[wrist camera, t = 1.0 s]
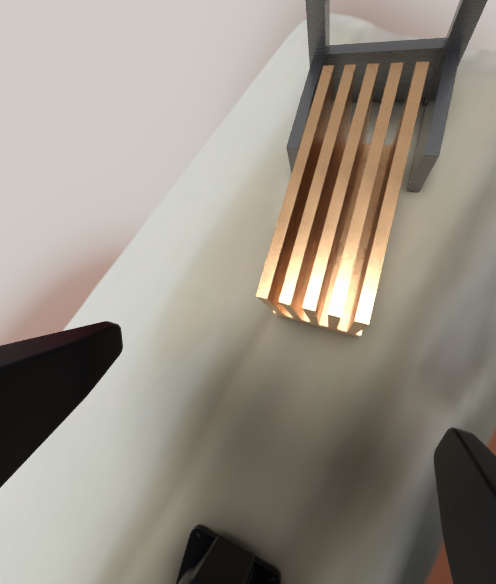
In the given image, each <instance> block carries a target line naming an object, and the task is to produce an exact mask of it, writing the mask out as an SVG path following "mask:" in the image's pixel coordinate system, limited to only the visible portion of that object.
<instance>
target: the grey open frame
mask: <svg viewBox="0 0 496 584" xmlns="http://www.w3.org/2000/svg"><path fill="white" fill-rule="evenodd" d="M486 2H487V0H460V2H459V4H458V7H457V10H456V13H455V15H454V18H453V21H452V24H451V26H450V29H449V31H448V34H447V37H446V38H434V39H419V40H404V41H389V42H374V43H359V44H344V45H329V0H306V13H307V29H308V44H309V60H310V70H309V73H308V76H307V80H306V83H305V87H304V90H303V93H302V97H301V100H300V103H299V107H298V110H297V114H296V117H295V120H294V124H293V127H292V131H291V134H290V137H289V141H288V144H287V152H288V157H289V162H290V167H291V172H292V171H293V168H294V165H295V161H296V158H297V154H298V151H299V148H300V144H301V141H302V137H303V134H304V131H305V127H306V124H307V120H308V117H309V113H310V110H311V107H312V103H313V100H314V96H315V93H316V90H317V86H318V83H319V79H320V76H321V73H322V69H323V66H328V65H334V99H333V101H335V99H336V95H337V91H338V88H339V84H340V81H341V77H342V74H343V70H344V67H345V65H353V64H356V71H355V82H354V92H353V101H358V98H359V94H360V90H361V87H362V83H363V79H364V75H365V72H366V68H367V64H377V63H379V68H378V74H377V80H376V85H375V91H374V97H373V101H382V98H383V94H384V90H385V86H386V82H387V78H388V74H389V70H390V66H391V63H402V62H404V63H403V67H402V71H401V75H400V79H399V84H398V88H397V92H396V96H395V100H394V101H405V98H406V95H407V92H408V88H409V85H410V82H411V78H412V75H413V72H414V68H415V65H416V62H427V61H429V65H428V70H427V74H426V78H425V83H424V87H423V91H422V96H421V100H420V101H424V103H423V106H426V107H425V111H424V116H423V120H422V125H421V129H420V134H419V138H418V143H417V148H416V152H415V157H414V161H413V166H412V170H411V175H410V179H409V184H408V188H407V191H411V192H419V191H420V189H421V187H422V186H423V184H424V182H425V180H426V178H427V177H428V175H429V173H430V171H431V169H432V167H433V166H434V164H435V162H436V160H437V158H438V157H439V154H440V149H441V144H442V139H443V134H444V130H445V125H446V120H447V115H448V110H449V105H450V100H451V96H452V91H453V86H454V81H455V76H456V71H457V67H458V65H459V63H460V60H461V58H462V56H463V54H464V52H465V49H466V47H467V45H468V42H469V40H470V38H471V36H472V34H473V31H474V29H475V27H476V25H477V22H478V20H479V18H480V16H481V14H482V11H483V9H484V7H485V4H486Z"/></svg>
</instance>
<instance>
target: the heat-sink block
mask: <svg viewBox="0 0 496 584" xmlns="http://www.w3.org/2000/svg"><path fill="white" fill-rule="evenodd" d="M403 63H404V62H402V63H391V66H390V70H389V74H388V78H387V82H386V86H385V90H384V94H383V98H382V102H381V106H380V110H379V114H378V118H377V121H376V125H375V129H374V133H373V137H372V141H371V144H365V143H366V137H367V132H368V126H369V120H370V114H371V108H372V103H373V97H374V91H375V85H376V80H377V74H378V68H379V63H377V64H367V68H366V72H365V75H364V79H363V83H362V87H361V90H360V94H359V98H358V102H357V105H356V109H355V113H354V116H353V120H352V124H351V114H352V103H353V92H354V82H355V71H356V64H353V65H345V67H344V70H343V74H342V77H341V81H340V84H339V88H338V91H337V95H336V99H335V102H334V106H333V99H334V65H328V66H323V69H322V73H321V76H320V79H319V83H318V86H317V90H316V93H315V96H314V100H313V103H312V107H311V110H310V113H309V117H308V120H307V124H306V127H305V131H304V134H303V137H302V141H301V144H300V148H299V151H298V154H297V158H296V161H295V165H294V168H293V171H292V175H291V178H290V182H289V185H288V188H287V192H286V195H285V199H284V202H283V206H282V209H281V212H280V216H279V219H278V223H277V226H276V229H275V233H274V236H273V240H272V243H271V246H270V250H269V253H268V257H267V260H266V263H265V267H264V270H263V274H262V277H261V280H260V284H259V287H258V291H257V294H256V297H258V298H259V299H260V300H261V301H262V302H264V303H265V304H266V305H267V306H269V307H270V308H271V309H272V310H273V313H275V314H276V315H277V316H280V317H284V318H288V319H292V320H295V321H299V322H303V323H307V324H310V325H314V326H318V327H321V328H325V329H329V330H333V331H336V332H340V333H344V334H348V335H351V336H355V337H359V336H361V333H362V329H364V328H365V327H366V326H367V325H369V321H370V317H371V313H372V308H373V304H374V300H375V295H376V291H377V287H378V282H379V278H380V274H381V269H382V265H383V261H384V256H385V252H386V247H387V243H388V239H389V234H390V230H391V226H392V221H393V217H394V213H395V208H396V204H397V200H398V195H399V191H400V187H401V182H402V178H403V174H404V169H405V165H406V161H407V156H408V152H409V148H410V143H411V139H412V135H413V130H414V126H415V122H416V117H417V113H418V109H419V104H420V100H421V96H422V91H423V87H424V83H425V78H426V74H427V70H428V65H429V61H427V62H416V65H415V68H414V72H413V75H412V78H411V82H410V85H409V88H408V92H407V95H406V98H405V102H404V105H403V108H402V112H401V115H400V118H399V122H398V125H397V129H396V132H395V135H394V139H393V142H392V145H384V140H385V136H386V132H387V128H388V124H389V120H390V116H391V112H392V108H393V104H394V100H395V96H396V92H397V88H398V84H399V79H400V75H401V71H402V67H403ZM350 124H351V128H350Z"/></svg>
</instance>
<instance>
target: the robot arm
mask: <svg viewBox="0 0 496 584" xmlns="http://www.w3.org/2000/svg"><path fill="white" fill-rule="evenodd" d="M122 349H123V343H122V334H121V328H120V326H119V325H118V324H115V323H112V322H108V321H105V322H100V323H96V324H92V325H88V326H83V327H79V328H75V329H70V330H66V331H62V332H57V333H53V334H49V335H45V336H41V337H36V338H32V339H27V340H23V341H19V342H14V343H10V344H6V345H2V346H0V487H1V486H2V485H3V484H4V483H5V482H6V481H7V480H8V479H9V478H10V477H11V476H12V475H13V474H14V473H15V472H16V471H17V470H18V468H19V467H20V466H21V465H22V464H23V463H24V462H25V461H26V460H27V459H28V458H29V457H30V456H31V455H32V454H33V453H34V452H35V450H36V449H37V448H38V447H39V446H40V445H41V444H42V443H43V442H44V441H45V440H46V439H47V438H48V437H49V436H50V435H51V434H52V433H53V431H54V430H55V429H56V428H57V427H58V426H59V425H60V424H61V423H62V422H63V421H64V420H65V419H66V418H67V417H68V416H69V415H70V413H71V412H72V411H73V410H74V409H75V408H76V407H77V406H78V405H79V404H80V403H81V402H82V401H83V400H84V399H85V397H86V396H87V395H88V394H89V393H90V392H91V390H92V389H93V388H94V387H95V385H96V384H97V383H98V382H99V380H100V379H101V378H102V377H103V375H104V374H105V373H106V372H107V370H108V369H109V368H110V366H111V365H112V364H113V363H114V361H115V360H116V359H117V358H118V356H119V355H120V354H121V352H122ZM434 466H435V475H436V484H437V492H438V501H439V509H440V518H441V526H442V532H443V538H444V543H445V548H446V553H447V557H448V562H449V566H450V571H451V575H452V580H453V584H496V455H495V454H493V453H492V452H491V451H490V450H489V449H488V448H487V447H486V446H485V445H484V444H483V443H482V442H481V441H480V440H479V439H478V438H477V437H476V436H475V435H474V434H472V433H470V432H467V431H464V430H460V429H457V428H450V429H448V430H447V431H446V433H445V435H444V436H443V438H442V440H441V441H440V443H439V445H438V446H437V448H436V450H435V453H434ZM196 533H198V534H199V535H200V538H198V537H197V535H196ZM270 577H273V578H275V580H276V582H272V581H271V579H270ZM176 584H281V575H280V573H279V571H278V570H277V569H275V568H274V567H272V566H270V565H268V564H267V563H265V562H263V561H261V560H260V559H258V558H256V557H254V556H253V555H252V553H250V552H248V551H246V550H245V549H243V548H241V547H239V546H238V545H236V544H234V543H232V542H231V541H229V540H227V539H225V538H224V537H222V536H218V535H216V534H215V533H213V532H211V531H209V530H208V529H206V528H204V527H202V526H200V525H198V526H196V527H194V529H193V530H192V532H191V534H190V537H189V541H188V544H187V548H186V551H185V555H184V558H183V562H182V565H181V569H180V572H179V576H178V579H177V583H176Z"/></svg>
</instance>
